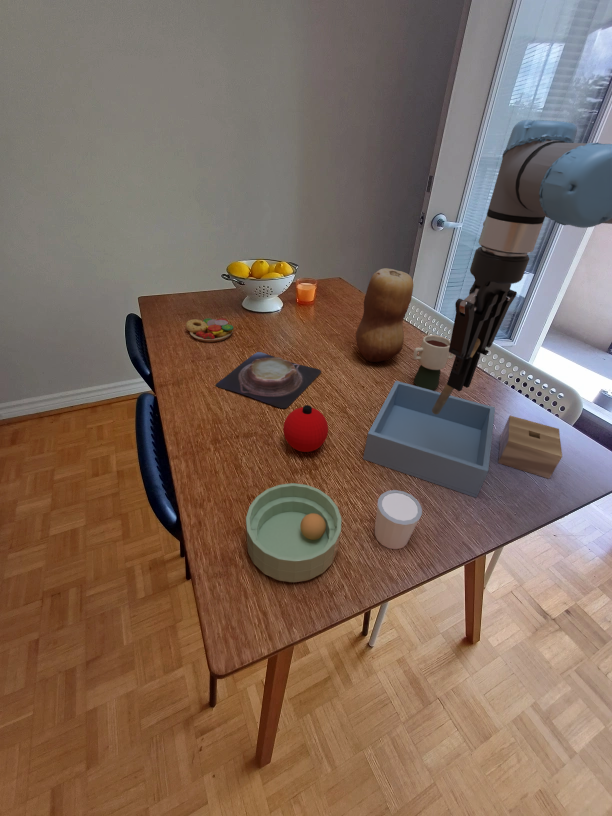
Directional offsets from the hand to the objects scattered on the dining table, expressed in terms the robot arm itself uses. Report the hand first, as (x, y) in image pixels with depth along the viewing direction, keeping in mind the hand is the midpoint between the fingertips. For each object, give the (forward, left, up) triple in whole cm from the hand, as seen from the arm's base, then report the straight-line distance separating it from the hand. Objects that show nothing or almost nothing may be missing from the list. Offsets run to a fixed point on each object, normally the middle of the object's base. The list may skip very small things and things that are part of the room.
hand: (458, 385), depth 72 cm
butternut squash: (+35, +23, -17) cm, 45 cm away
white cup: (-23, +3, -17) cm, 29 cm away
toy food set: (+24, +72, -17) cm, 78 cm away
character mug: (+27, +7, -17) cm, 33 cm away
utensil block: (+9, -17, -17) cm, 26 cm away
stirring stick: (+1, +2, -8) cm, 9 cm away
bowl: (-32, +17, -17) cm, 40 cm away
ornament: (-10, +25, -17) cm, 32 cm away
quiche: (+10, +44, -17) cm, 48 cm away
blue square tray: (+3, +2, -17) cm, 18 cm away
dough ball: (-30, +15, -14) cm, 36 cm away
